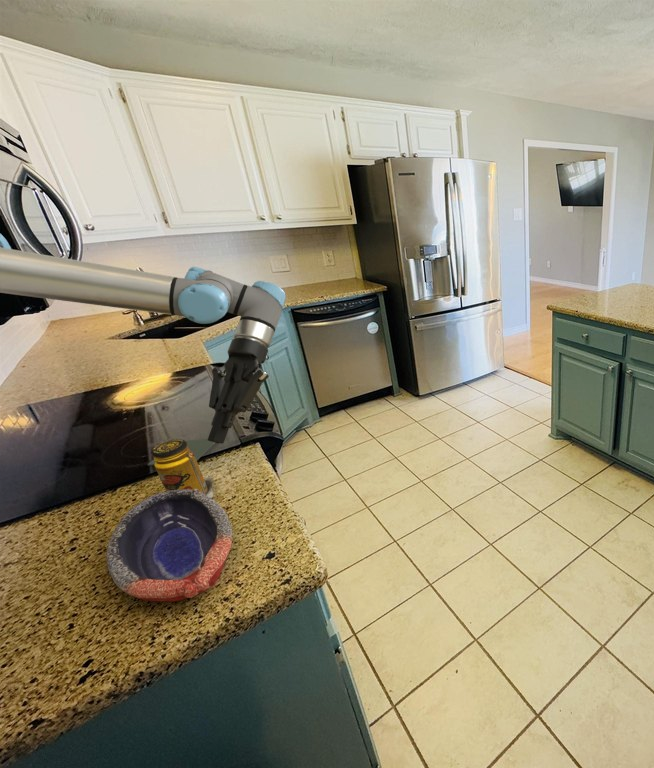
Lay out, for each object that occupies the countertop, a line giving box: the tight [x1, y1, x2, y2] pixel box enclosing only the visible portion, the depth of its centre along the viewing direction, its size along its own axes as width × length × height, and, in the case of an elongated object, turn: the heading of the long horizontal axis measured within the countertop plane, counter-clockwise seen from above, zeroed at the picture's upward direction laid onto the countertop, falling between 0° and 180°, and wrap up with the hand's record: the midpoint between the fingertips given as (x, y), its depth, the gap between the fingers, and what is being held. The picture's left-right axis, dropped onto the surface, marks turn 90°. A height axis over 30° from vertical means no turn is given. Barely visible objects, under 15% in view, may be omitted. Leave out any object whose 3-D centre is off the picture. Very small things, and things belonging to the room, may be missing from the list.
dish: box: [106, 489, 234, 602], centre depth 67 cm, size 16×31×5 cm, turn 45°
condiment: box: [151, 438, 214, 498], centre depth 80 cm, size 7×8×12 cm
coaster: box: [147, 438, 216, 467], centre depth 96 cm, size 10×10×1 cm
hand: (215, 441), depth 87 cm, fingers closed
